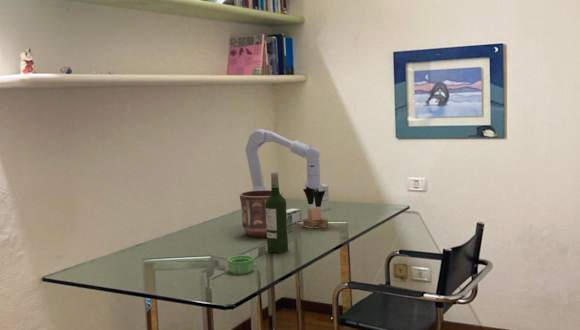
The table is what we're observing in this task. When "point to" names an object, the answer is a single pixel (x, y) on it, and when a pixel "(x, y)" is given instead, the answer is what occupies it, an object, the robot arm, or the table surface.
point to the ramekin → (240, 264)
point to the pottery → (255, 212)
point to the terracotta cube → (314, 214)
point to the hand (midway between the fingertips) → (314, 205)
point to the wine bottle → (276, 219)
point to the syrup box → (293, 216)
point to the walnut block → (315, 223)
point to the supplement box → (323, 199)
